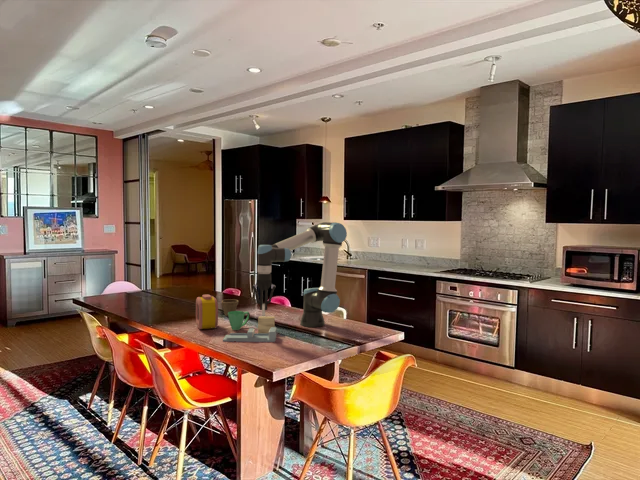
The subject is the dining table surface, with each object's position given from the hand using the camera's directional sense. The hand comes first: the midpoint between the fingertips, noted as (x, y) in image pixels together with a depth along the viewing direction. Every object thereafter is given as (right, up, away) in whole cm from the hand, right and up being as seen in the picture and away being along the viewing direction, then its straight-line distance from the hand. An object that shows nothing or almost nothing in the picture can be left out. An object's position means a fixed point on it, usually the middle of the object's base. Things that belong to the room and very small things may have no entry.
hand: (263, 315), depth 250 cm
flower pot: (-30, -10, +60) cm, 68 cm away
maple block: (0, -12, +15) cm, 20 cm away
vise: (-7, -13, +1) cm, 15 cm away
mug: (-17, -12, +24) cm, 32 cm away
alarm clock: (-37, -11, +26) cm, 47 cm away
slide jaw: (-7, -12, +1) cm, 14 cm away
